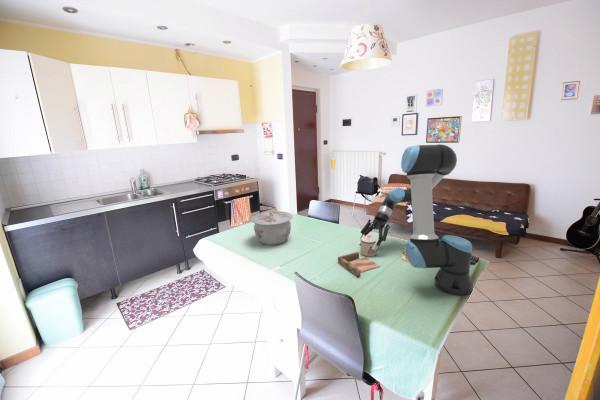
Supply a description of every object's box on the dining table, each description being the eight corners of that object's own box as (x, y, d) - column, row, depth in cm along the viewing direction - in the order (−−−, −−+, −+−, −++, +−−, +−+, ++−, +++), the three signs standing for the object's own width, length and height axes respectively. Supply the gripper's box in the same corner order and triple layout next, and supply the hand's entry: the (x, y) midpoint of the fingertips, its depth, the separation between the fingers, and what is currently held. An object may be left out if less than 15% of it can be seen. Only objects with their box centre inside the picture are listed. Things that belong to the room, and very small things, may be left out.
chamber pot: (279, 252, 169) (276, 220, 164) (244, 245, 183) (241, 215, 178) (301, 236, 193) (300, 207, 188) (269, 230, 206) (267, 204, 201)
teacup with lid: (369, 258, 157) (369, 239, 154) (357, 253, 164) (357, 234, 161) (383, 252, 163) (383, 233, 160) (370, 247, 171) (371, 229, 168)
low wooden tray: (384, 269, 145) (384, 263, 144) (357, 277, 138) (357, 271, 137) (362, 255, 160) (362, 250, 160) (338, 262, 154) (337, 256, 153)
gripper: (402, 222, 161) (385, 256, 155) (371, 214, 177) (354, 245, 171) (397, 215, 156) (380, 250, 150) (366, 208, 172) (349, 239, 166)
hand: (366, 247), depth 161 cm, fingers closed on teacup with lid, 9 cm apart
